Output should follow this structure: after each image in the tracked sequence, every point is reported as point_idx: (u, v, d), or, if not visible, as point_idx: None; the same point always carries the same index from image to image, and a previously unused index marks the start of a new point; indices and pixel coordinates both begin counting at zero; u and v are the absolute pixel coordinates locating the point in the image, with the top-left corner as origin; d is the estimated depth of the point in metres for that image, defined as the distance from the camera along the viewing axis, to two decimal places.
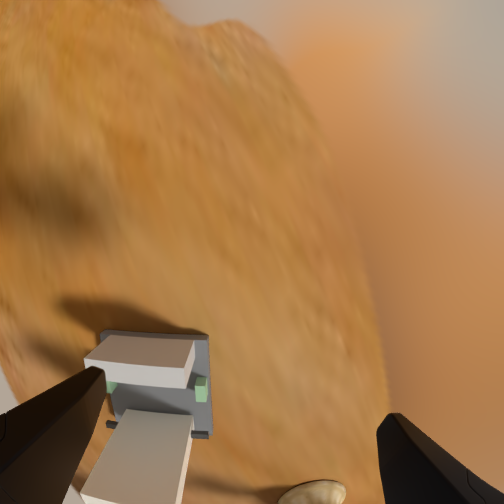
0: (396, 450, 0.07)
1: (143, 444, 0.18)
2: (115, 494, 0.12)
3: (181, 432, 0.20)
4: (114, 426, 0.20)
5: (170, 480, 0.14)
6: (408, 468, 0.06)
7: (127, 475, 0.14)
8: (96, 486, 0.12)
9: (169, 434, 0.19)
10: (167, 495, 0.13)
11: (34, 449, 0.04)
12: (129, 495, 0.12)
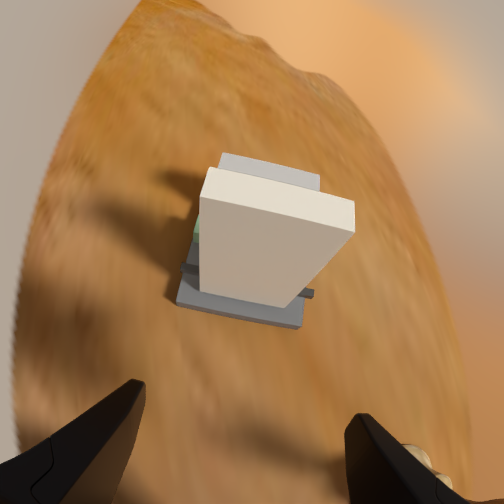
0: (361, 453, 0.07)
1: None
2: None
3: None
4: (193, 268, 0.19)
5: None
6: (373, 473, 0.06)
7: None
8: None
9: None
10: None
11: (87, 474, 0.04)
12: None
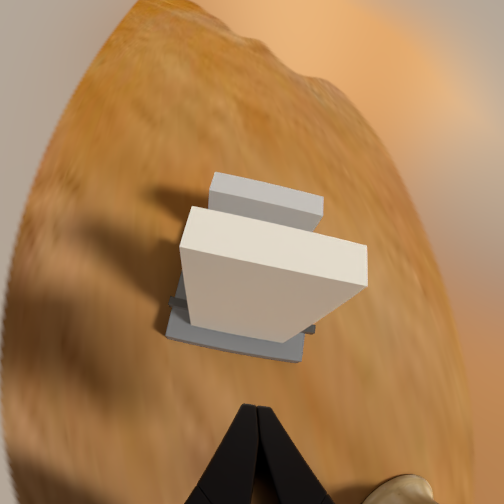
0: None
1: None
2: None
3: None
4: (183, 303, 0.17)
5: None
6: (258, 474, 0.06)
7: None
8: None
9: None
10: None
11: None
12: None
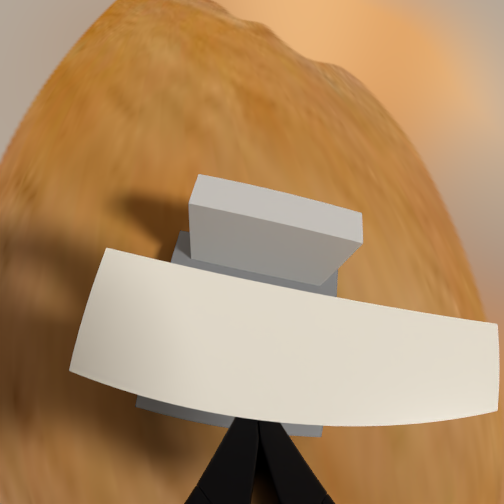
0: None
1: None
2: None
3: None
4: None
5: None
6: (258, 474, 0.06)
7: None
8: None
9: None
10: None
11: None
12: None
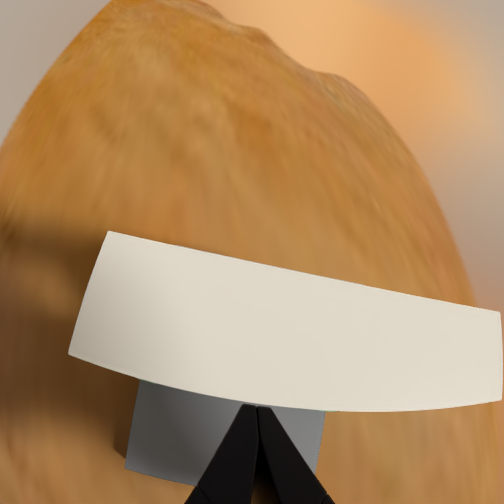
0: None
1: None
2: None
3: None
4: None
5: None
6: (258, 474, 0.06)
7: None
8: None
9: None
10: None
11: None
12: None
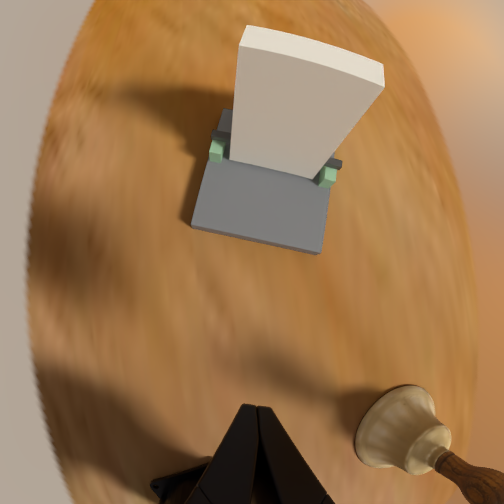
0: None
1: None
2: None
3: None
4: (224, 134, 0.18)
5: None
6: (258, 474, 0.06)
7: None
8: None
9: None
10: None
11: None
12: None
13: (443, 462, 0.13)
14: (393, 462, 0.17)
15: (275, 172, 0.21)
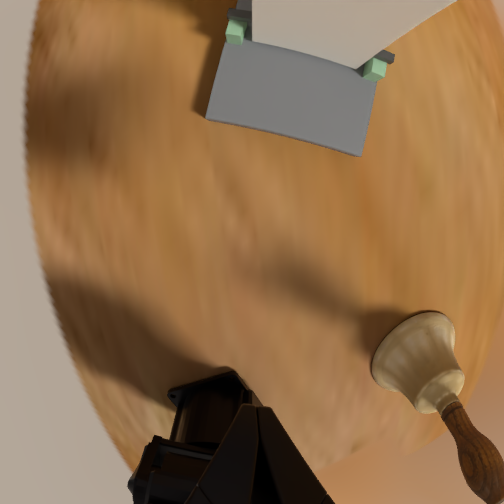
0: None
1: None
2: None
3: None
4: (244, 13, 0.11)
5: None
6: (258, 474, 0.06)
7: None
8: None
9: None
10: None
11: None
12: None
13: (450, 413, 0.14)
14: (405, 393, 0.19)
15: (310, 57, 0.14)
